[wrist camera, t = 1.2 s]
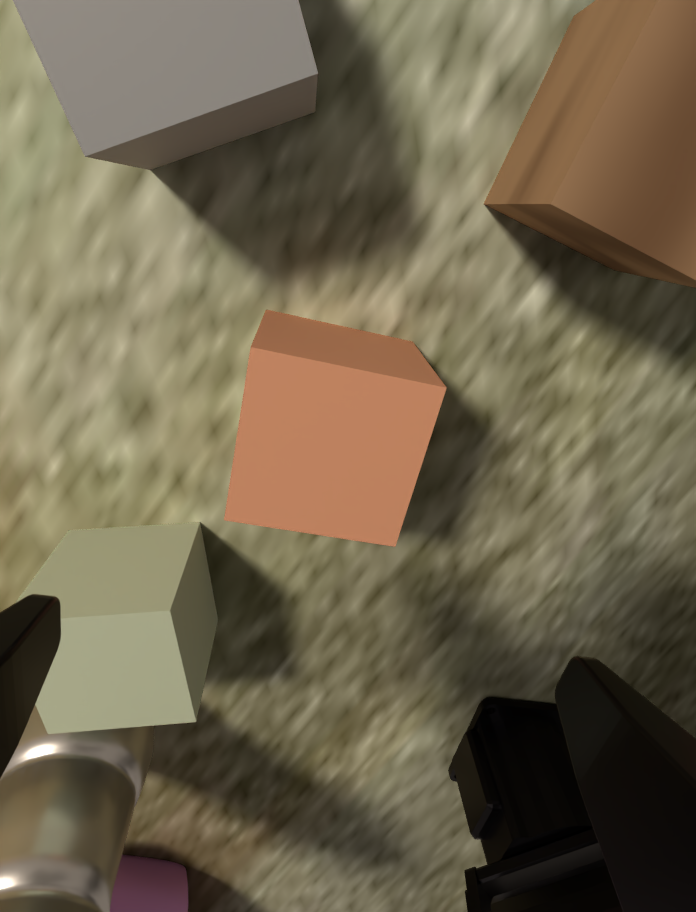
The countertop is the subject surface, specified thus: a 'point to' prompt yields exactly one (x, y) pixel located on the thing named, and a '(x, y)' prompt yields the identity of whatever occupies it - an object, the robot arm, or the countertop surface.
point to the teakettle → (149, 886)
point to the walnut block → (614, 141)
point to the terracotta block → (331, 430)
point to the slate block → (172, 72)
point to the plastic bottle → (68, 815)
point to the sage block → (127, 627)
